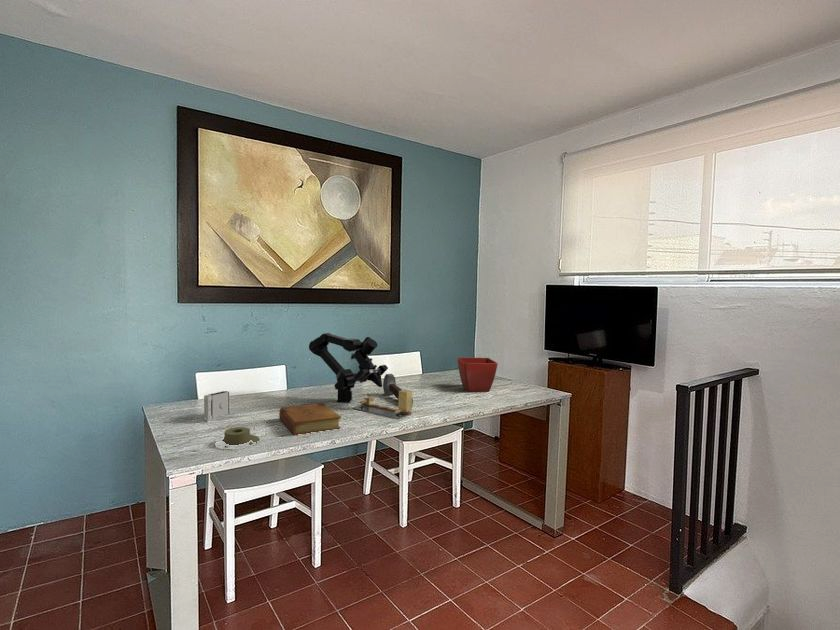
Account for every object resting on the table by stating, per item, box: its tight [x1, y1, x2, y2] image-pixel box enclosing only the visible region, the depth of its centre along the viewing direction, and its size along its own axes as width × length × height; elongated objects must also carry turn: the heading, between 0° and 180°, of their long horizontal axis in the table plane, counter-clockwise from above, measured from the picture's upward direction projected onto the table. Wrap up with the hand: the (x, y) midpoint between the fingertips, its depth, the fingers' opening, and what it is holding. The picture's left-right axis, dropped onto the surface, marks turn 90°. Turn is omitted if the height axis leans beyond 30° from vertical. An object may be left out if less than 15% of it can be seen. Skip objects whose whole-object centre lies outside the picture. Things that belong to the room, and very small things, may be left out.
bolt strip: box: [352, 404, 409, 420], centre depth 203 cm, size 27×7×1 cm, turn 56°
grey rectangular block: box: [203, 390, 230, 421], centre depth 188 cm, size 14×5×10 cm, turn 164°
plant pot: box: [457, 357, 499, 392], centre depth 254 cm, size 19×19×17 cm
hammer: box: [382, 373, 414, 406], centre depth 225 cm, size 5×11×30 cm
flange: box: [223, 426, 261, 445], centre depth 159 cm, size 5×15×15 cm
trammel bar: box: [359, 395, 412, 416], centre depth 205 cm, size 27×8×4 cm, turn 56°
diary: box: [278, 402, 342, 436], centre depth 182 cm, size 23×19×6 cm
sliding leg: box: [395, 389, 413, 415], centre depth 198 cm, size 4×9×10 cm, turn 146°
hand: (381, 386), depth 208 cm, fingers closed
